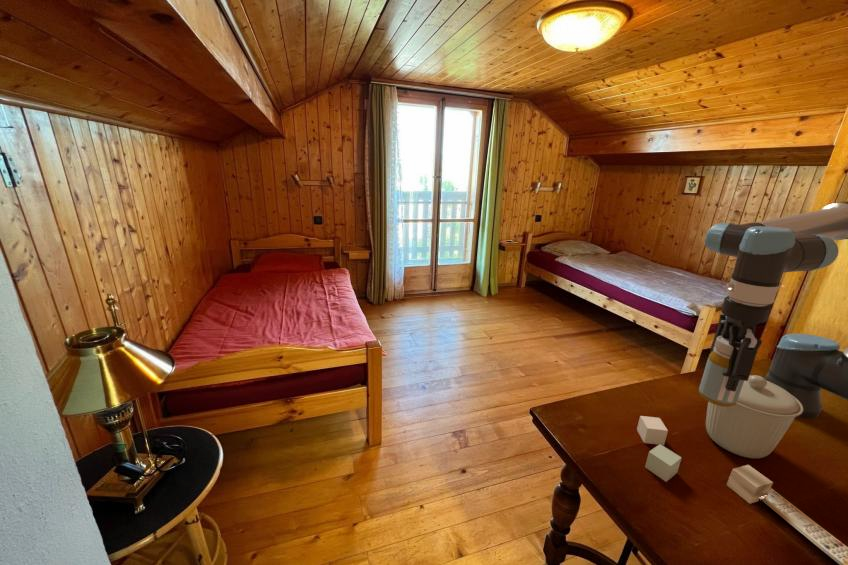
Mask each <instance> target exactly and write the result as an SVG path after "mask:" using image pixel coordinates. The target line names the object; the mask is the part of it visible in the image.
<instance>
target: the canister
mask: <svg viewBox="0 0 848 565" xmlns="http://www.w3.org/2000/svg"><path fill="white" fill-rule="evenodd" d="M707 402H708V401H707ZM802 412H803V406H802V404H801V403H800V402H799V400H798V399H796V398H795V397H794V396H793V395H791V394H790V393H789V392H787V391H786V390H785V389H783V388H781V387H779V386H778V385H776V384H773V383H771V382H769V381H766V380H765V379H764V377H763V376H761V375H755V374H753V375H751V374H750V375H749V378H748V381H744V383H743V386H742V389H741V391H740V394H739V397H738V400H737V402H736V404H735V405H733V406H730V407H723V406H718V405H715V404H713V403H710V402H708V403H707V409H706V419H705V430H706V432H707V434H708V436H709V438H710V439H712V441H713V442H715V444H717V445H718V446H719V447H721V448H722V449H725V450H726V451H727V452H731V453H732V454H734V455H736V456H737V455H738V456H740V457H744V458H748V459H754V460H755V459H762V458H766V457H768V456H769V455H770V454H772V452H773V451H774V450H775V448H776V447H777V445H779V442H780V441H781V440H782V438H783V437H784V436H785V434H786V433H787V431H788V429H789V428H790V426H791V425H792V423H793V421H794V420H795V419H796V418H797V417H796V416H799V415H801V414H802Z"/></svg>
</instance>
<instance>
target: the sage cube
mask: <svg viewBox="0 0 848 565" xmlns="http://www.w3.org/2000/svg"><path fill="white" fill-rule="evenodd" d="M681 461H682V457H681V456H680V455H679V454H677V453H675V452H673V451H672V450H670V449H669V448H667V447H665V445H661V444H659V445H658V444H657V445H656V446H655V447H653V448H652V449H650V451H648V455H647V458H646V463H645V465H644V468H645V469H647V470H648V471H650V472H651V473H652V474H654V475H656V476H657V477H658V478H660V479H661V480H663V481H664V482H666V483H667V482H669V480H671V479H672V478H673V477H674V476H675V475H676V474H678V471H679V468H680V463H681Z"/></svg>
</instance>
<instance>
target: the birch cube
mask: <svg viewBox="0 0 848 565" xmlns="http://www.w3.org/2000/svg"><path fill="white" fill-rule="evenodd" d="M773 484H774V482H773V481H772V480H770V479H769V478H768V477H766V476H765V475H763V473H760V472H759V471H758V470H756V469H755V468H754V467H752V466H751V465H750V464H746V465H742V466H738V467H734V468H732V470H731V472H730V475H729V477H728V480H727V482H726V486H727V487H728V488H729V489H730V490H732V491H733V492H735V493H736V495H738V496H739V497H741V498H742V499H743V500H745V501H746V503H748V504H753V503H757V502H760V501H759V497H761V496H764V495H767V496H768V495H769V493H770V491H771V487H772V486H773Z"/></svg>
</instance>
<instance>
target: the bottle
mask: <svg viewBox="0 0 848 565" xmlns="http://www.w3.org/2000/svg"><path fill="white" fill-rule="evenodd" d="M735 343H741V342H735ZM738 349H739V348H737V350H738ZM732 351H733V346H731V345H729V339H728V338H723V337H722V336H718V337H717V339H716V342H715V346H714V350H713V351H712V352H711V351H710V353H709V354H708V357H707V361H706V363H705V367H704V371H703V373H702V374H703V375H702V378H701V380H700V384H699V388H698V393H699V395H700V396H701V397H702V398H703V399H704V400H705V401H707V402H710V403H713V404H715V405H718V406H723V407H730V406H733V405H735V404H736V402H737V400H738V397H739V394H740V391H741V389H742V386H743V383H744V380H740V381H739V384H738V387H737V389H736V392H735V395H734V398H733V401H732V402H728V401H727V400H728V397H729V394H730V391H729V390H727V389H726V391H725V393H724V396H723V399H722V400H717V398H718V395H719V392H720V389H721V386H722V383H723V379H724V376H723V373H727V370H728V367H729V359H730V356H731V354H732Z"/></svg>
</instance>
